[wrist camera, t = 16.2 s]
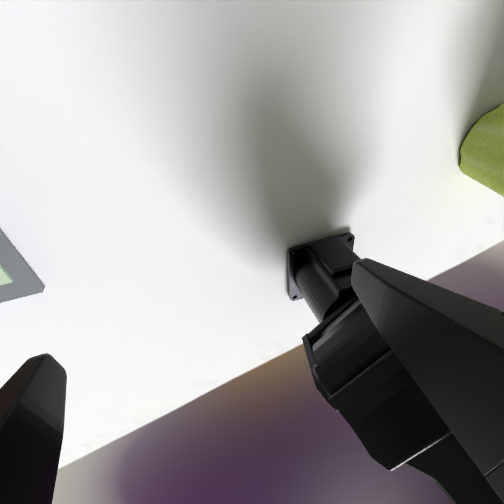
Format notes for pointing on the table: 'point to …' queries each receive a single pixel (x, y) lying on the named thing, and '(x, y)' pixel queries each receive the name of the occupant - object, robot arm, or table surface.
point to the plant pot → (486, 151)
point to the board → (15, 273)
